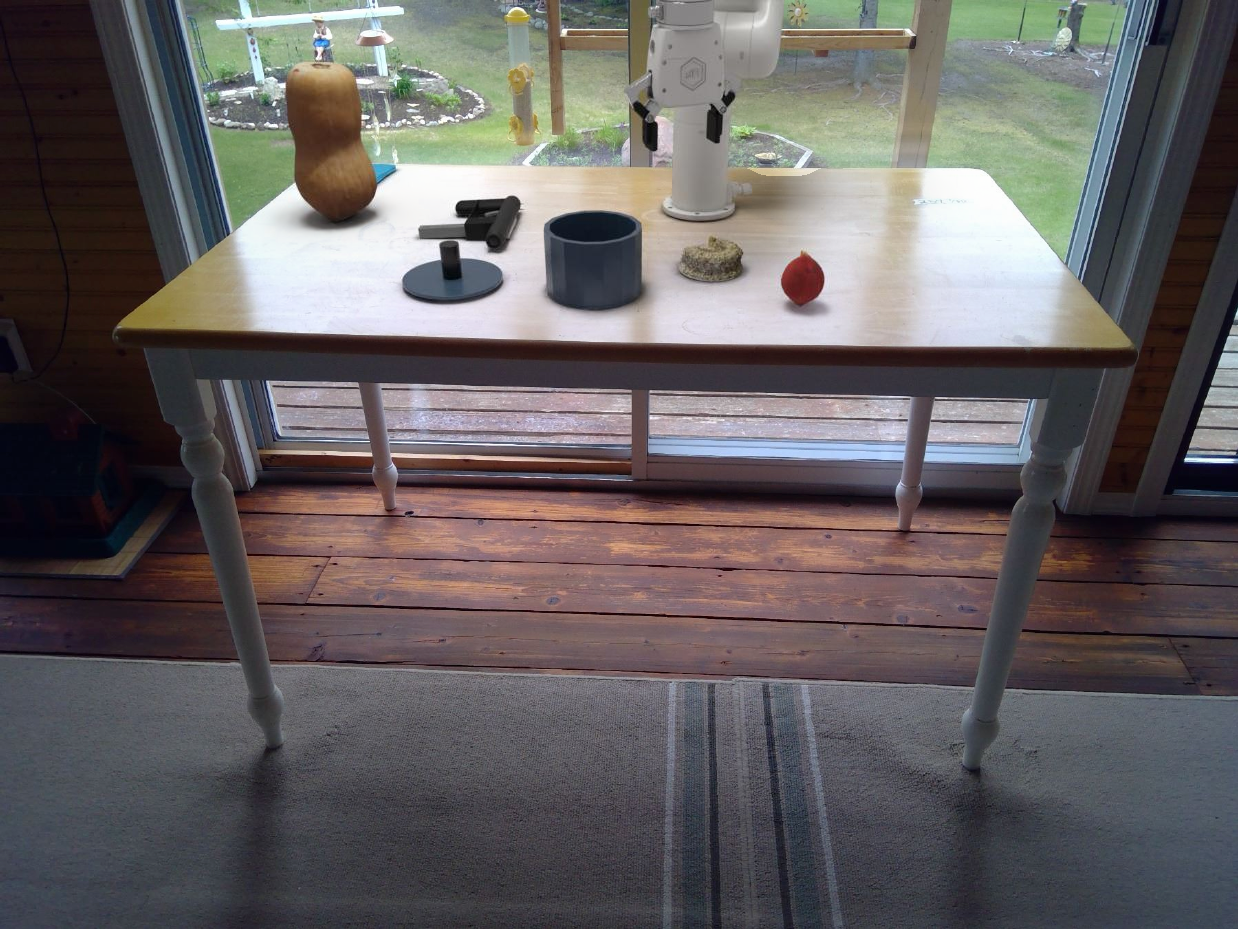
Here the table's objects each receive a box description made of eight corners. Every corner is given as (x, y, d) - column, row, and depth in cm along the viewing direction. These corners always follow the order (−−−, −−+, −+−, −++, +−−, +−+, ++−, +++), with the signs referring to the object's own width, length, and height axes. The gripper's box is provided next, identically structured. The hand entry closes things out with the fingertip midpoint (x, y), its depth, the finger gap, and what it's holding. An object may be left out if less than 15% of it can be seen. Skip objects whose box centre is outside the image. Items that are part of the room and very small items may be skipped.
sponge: (341, 181, 177) (369, 179, 176) (369, 163, 187) (395, 161, 186) (344, 189, 178) (372, 187, 177) (371, 171, 188) (397, 169, 186)
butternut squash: (393, 219, 162) (370, 64, 148) (317, 236, 155) (286, 75, 142) (362, 199, 171) (338, 51, 157) (290, 213, 165) (258, 61, 151)
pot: (618, 266, 143) (618, 205, 138) (657, 299, 133) (658, 234, 128) (534, 281, 139) (530, 218, 133) (567, 316, 128) (564, 249, 123)
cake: (756, 270, 143) (761, 237, 139) (716, 291, 137) (720, 257, 133) (704, 250, 148) (707, 217, 144) (664, 269, 142) (666, 236, 138)
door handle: (408, 236, 148) (508, 232, 146) (436, 196, 164) (527, 192, 163) (412, 256, 150) (511, 252, 148) (439, 215, 166) (529, 211, 165)
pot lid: (486, 258, 146) (483, 220, 143) (516, 293, 135) (513, 252, 132) (393, 274, 141) (387, 234, 138) (416, 310, 130) (410, 269, 127)
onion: (824, 300, 132) (830, 245, 128) (817, 316, 128) (824, 260, 123) (783, 295, 134) (788, 241, 129) (775, 311, 129) (780, 255, 125)
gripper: (635, 22, 118) (635, 159, 128) (757, 12, 123) (748, 145, 133) (614, 13, 124) (616, 145, 134) (731, 4, 129) (725, 131, 139)
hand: (682, 144), depth 133 cm, fingers open, 9 cm apart
